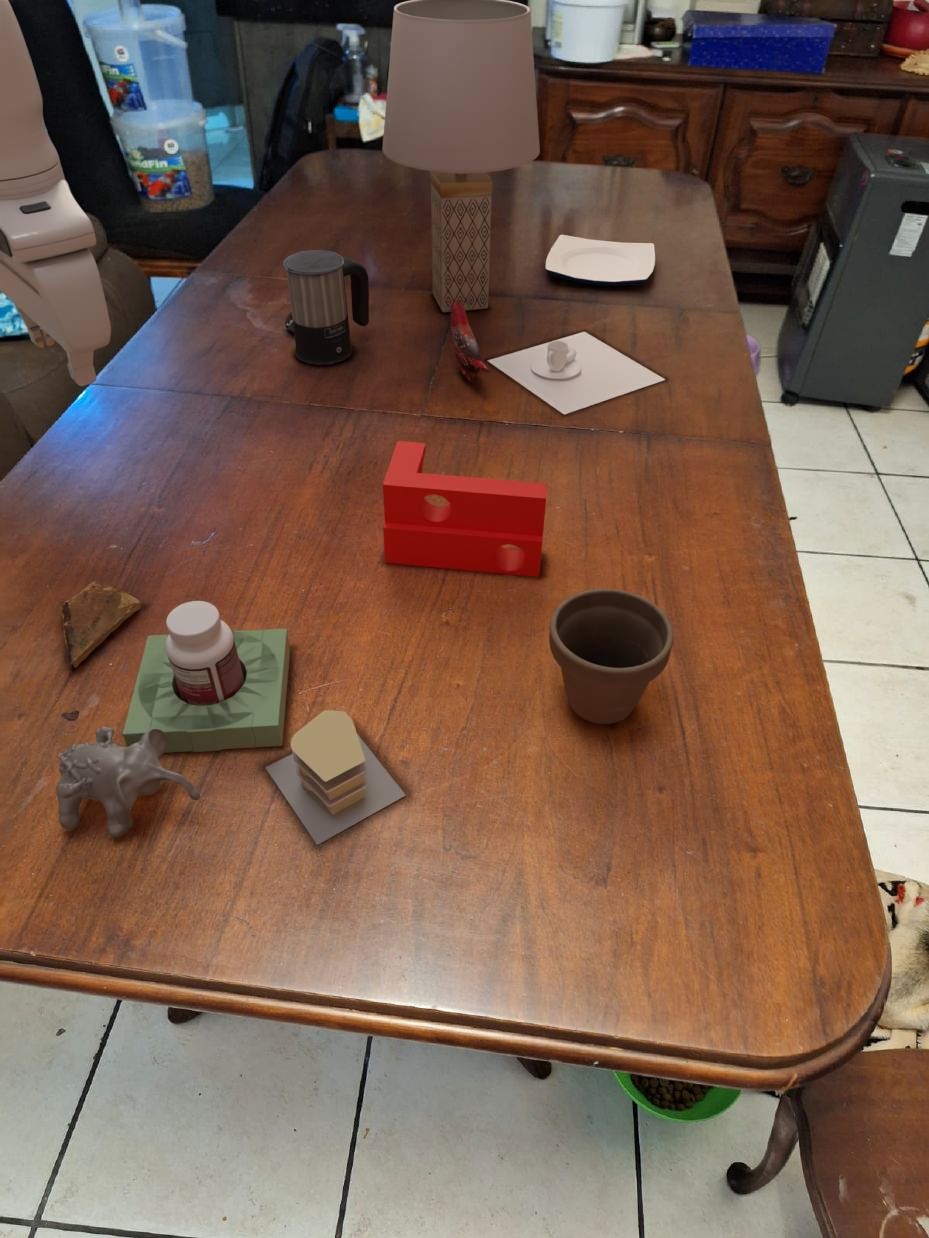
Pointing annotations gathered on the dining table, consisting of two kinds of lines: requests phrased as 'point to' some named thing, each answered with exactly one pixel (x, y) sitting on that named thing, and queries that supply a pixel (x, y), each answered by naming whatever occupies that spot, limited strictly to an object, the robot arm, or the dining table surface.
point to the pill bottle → (202, 654)
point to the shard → (94, 618)
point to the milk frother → (324, 304)
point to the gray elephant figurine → (113, 777)
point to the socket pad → (221, 725)
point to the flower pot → (608, 650)
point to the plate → (600, 261)
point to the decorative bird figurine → (465, 342)
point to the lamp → (461, 123)
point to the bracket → (460, 519)
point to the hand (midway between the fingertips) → (64, 362)
